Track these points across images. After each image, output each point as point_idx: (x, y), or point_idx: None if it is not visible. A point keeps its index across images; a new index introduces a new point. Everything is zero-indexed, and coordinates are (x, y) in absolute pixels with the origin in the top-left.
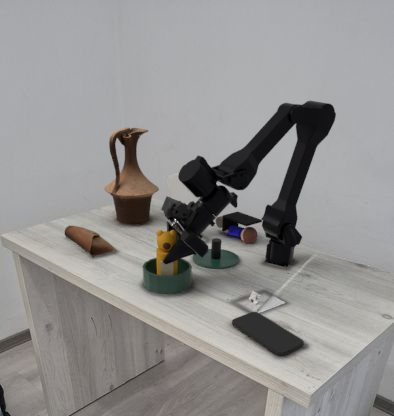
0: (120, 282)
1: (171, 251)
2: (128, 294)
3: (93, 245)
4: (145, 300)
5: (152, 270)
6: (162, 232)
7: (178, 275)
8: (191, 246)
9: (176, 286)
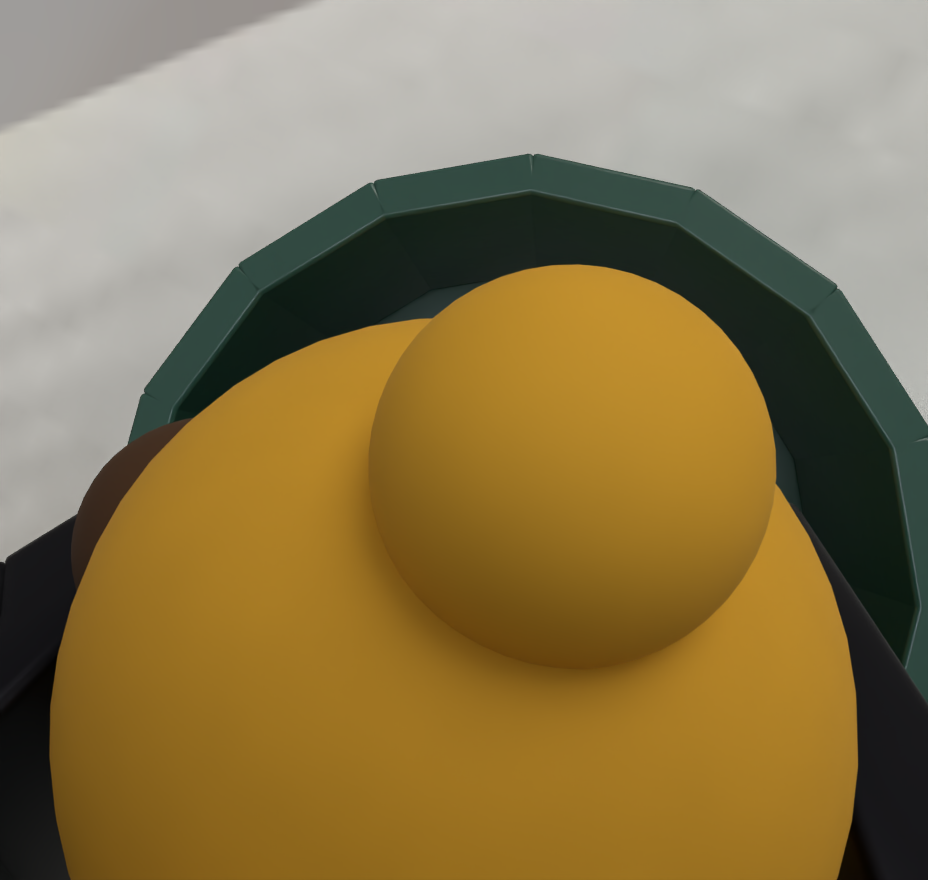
0: (848, 37)
1: (4, 564)
2: (495, 26)
3: None
4: (275, 151)
5: (822, 457)
6: (392, 553)
7: None
8: None
9: None
